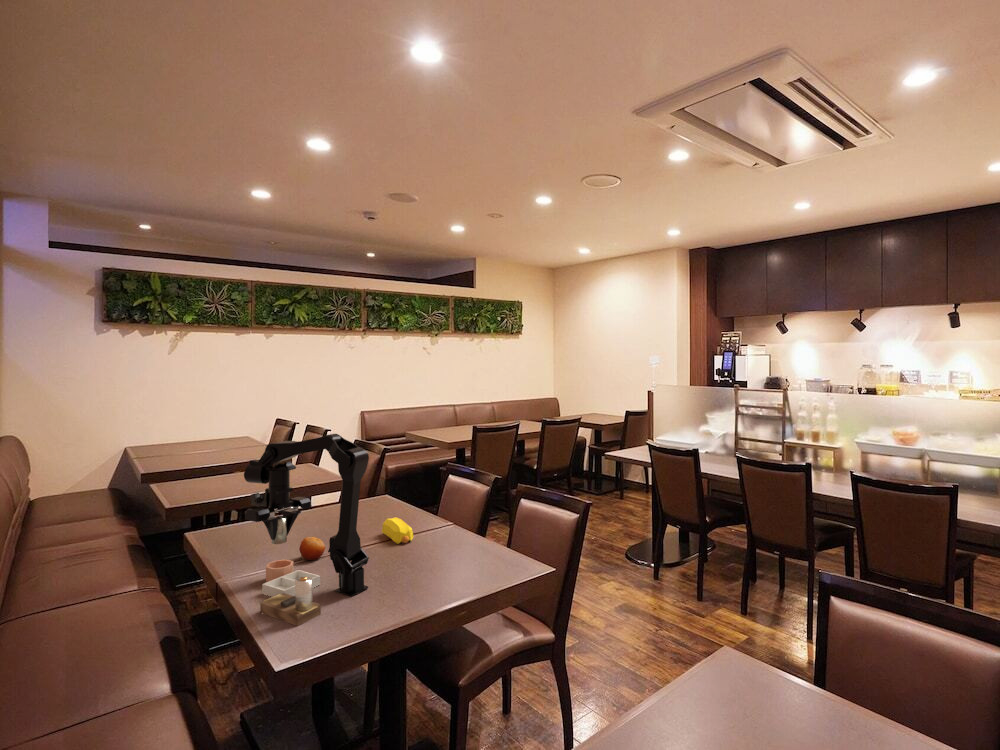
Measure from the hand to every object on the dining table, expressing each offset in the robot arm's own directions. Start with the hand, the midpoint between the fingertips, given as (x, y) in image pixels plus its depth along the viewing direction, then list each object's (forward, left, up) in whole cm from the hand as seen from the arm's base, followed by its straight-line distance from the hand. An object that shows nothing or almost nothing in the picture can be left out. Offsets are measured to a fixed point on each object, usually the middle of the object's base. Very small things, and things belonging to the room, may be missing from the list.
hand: (279, 537), depth 156 cm
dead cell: (0, 0, -1) cm, 1 cm away
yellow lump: (-4, -47, -13) cm, 49 cm away
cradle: (-21, +13, -12) cm, 28 cm away
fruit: (+6, -17, -13) cm, 22 cm away
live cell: (-26, +13, -10) cm, 31 cm away
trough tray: (-9, +3, -12) cm, 16 cm away
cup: (0, 0, -12) cm, 12 cm away
